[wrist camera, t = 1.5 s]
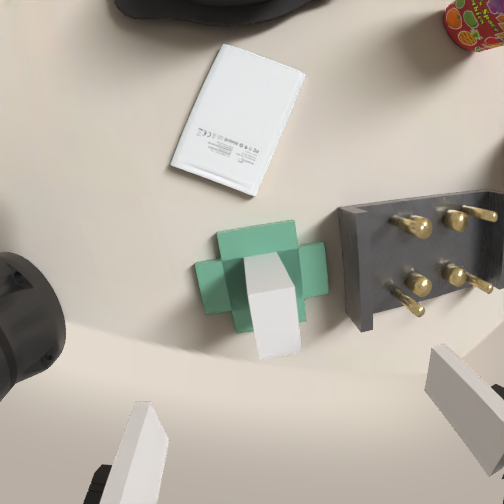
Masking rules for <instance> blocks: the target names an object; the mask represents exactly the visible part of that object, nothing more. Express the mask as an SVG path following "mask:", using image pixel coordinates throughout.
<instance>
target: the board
mask: <svg viewBox="0 0 504 504" xmlns="http://www.w3.org/2000/svg"><path fill="white" fill-rule="evenodd" d="M217 238H218V244H219V249H220V254H221V258H218V259H212V260H206V261H200V262H196V264H195V269H196V273H197V278H198V282H199V287H200V291H201V296H202V300H203V305H204V309H205V313H206V315H208V314H215V313H221V312H228V311H232V316H233V321H234V325H235V330H236V333H242V332H249V331H254V334H255V339H256V345H257V350H258V356H259V360H261V359H267V358H273V357H279V356H285V355H290V354H295V353H300V352H302V349H301V339H300V330H299V323H300V322H305V321H306V313H305V303H304V298H309V297H315V296H320V295H325V294H329V289H328V276H327V265H326V254H325V244H324V243H323V242H322V241H321V242H315V243H309V244H303V245H298V242H297V235H296V227H295V221H294V220H287V221H280V222H274V223H268V224H261V225H255V226H249V227H243V228H237V229H231V230H225V231H219V232H217Z"/></svg>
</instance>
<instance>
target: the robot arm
mask: <svg viewBox="0 0 504 504" xmlns="http://www.w3.org/2000/svg"><path fill="white" fill-rule="evenodd" d="M65 339H66V328H65V320H64V315H63V312H62V309H61V306H60V303H59V301H58V298H57V296H56V294H55V292H54V290H53V289H52V287H51V285H50V284H49V282H48V281H47V279H46V278H45V277H44V275H43V274H42V273H41V272H40V271H39V270H38V269H37V268H36V267H35V266H34V265H33V264H32V263H31V262H29V261H28V260H27V259H25V258H23V257H22V256H19V255H17V254H14V253H10V252H1V253H0V402H1V400H2V399H3V398H4V397H5V395H6V394H7V393H8V392H9V391H10V389H11V388H12V387H13V386H14V385H15V384H16V383H18V382H20V381H22V380H24V379H27V378H29V377H32V376H34V375H36V374H38V373H41V372H43V371H45V370H46V369H48V368H49V367H50V366H51V365H52V364H53V363H54V361H55V360H56V359H57V358H58V357H59V355H60V354H61V352H62V350H63V348H64V344H65ZM425 392H426V393H427V394H428V396H429V397H430V398H431V399H432V401H433V402H434V403H435V405H436V406H437V407H438V408H439V410H440V411H441V412H442V414H443V415H444V416H445V418H446V419H447V420H448V421H449V423H450V424H451V425H452V427H453V428H454V429H455V431H456V432H457V433H458V435H459V436H460V437H461V439H462V440H463V441H464V443H465V444H466V446H467V447H468V448H469V450H470V451H471V452H472V454H473V455H474V456H475V458H476V459H477V460H478V462H479V463H480V465H481V466H482V468H483V469H484V470H485V472H486V473H487V475H488V476H489V477H490V476H491V475H493V474H494V473H496V472H497V471H499V470H500V469H502V468H503V466H504V388H503V387H501V386H499V385H497V384H495V385H493V386H491V387H490V386H489V385H488V384H487V383H486V382H485V381H484V380H483V379H482V378H481V377H479V375H478V374H477V373H476V372H475V371H473V370H472V369H471V368H470V367H469V366H468V365H467V364H466V363H465V362H464V361H463V360H462V359H461V358H460V357H459V356H458V355H456V354H455V353H454V352H453V351H452V350H451V349H450V348H449V347H448V346H447V345H446V344H445V343H443V344H440V345H437V346H434V347H432V348H431V355H430V362H429V368H428V374H427V381H426V385H425ZM168 444H169V439H168V437H167V435H166V433H165V431H164V429H163V427H162V425H161V423H160V420H159V418H158V416H157V414H156V412H155V410H154V408H153V405H152V403H151V401H149V402H135V405H134V407H133V410H132V413H131V415H130V418H129V421H128V423H127V426H126V429H125V431H124V434H123V437H122V440H121V442H120V445H119V448H118V451H117V454H116V457H115V459H114V462H113V465H101V467H99V468H98V470H97V471H96V472H95V473H94V476H93V479H92V481H91V484H90V486H89V489H88V490H89V491H88V492H87V495H86V497H85V500H84V503H83V504H157V501H158V496H159V490H160V485H161V480H162V474H163V469H164V464H165V459H166V454H167V449H168ZM502 479H504V475H503V477H502ZM503 504H504V500H503Z"/></svg>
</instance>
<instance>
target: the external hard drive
mask: <svg viewBox="0 0 504 504" xmlns="http://www.w3.org/2000/svg"><path fill="white" fill-rule="evenodd" d="M305 77H306V74H304V73H303V72H300V71H298V70H296V69H293V68H291V67H289V66H286V65H284V64H281V63H279V62H276V61H273V60H271V59H268V58H266V57H263V56H260V55H258V54H255V53H252V52H249V51H246V50H243V49H240V48H237V47H234V46H230V45H227V44H223V45H222V47H221V49H220V51H219V53H218V55H217V57H216V59H215V61H214V63H213V65H212V67H211V69H210V71H209V73H208V75H207V78H206V80H205V82H204V84H203V86H202V88H201V91H200V93H199V95H198V97H197V100H196V102H195V104H194V106H193V109H192V111H191V113H190V116H189V118H188V120H187V123H186V125H185V128H184V130H183V133H182V135H181V138H180V140H179V143H178V145H177V148H176V150H175V153H174V156H173V158H172V161H171V163H170V165H171V166H173V167H176V168H179V169H182V170H185V171H188V172H190V173H193V174H196V175H199V176H201V177H204V178H207V179H210V180H212V181H215V182H217V183H220V184H223V185H225V186H228V187H231V188H233V189H236V190H238V191H241V192H244V193H246V194H249V195H251V196H254V197H256V194H257V192H258V190H259V187H260V185H261V182H262V180H263V177H264V175H265V173H266V170H267V168H268V165H269V163H270V161H271V158H272V156H273V153H274V151H275V149H276V146H277V144H278V141H279V139H280V137H281V134H282V132H283V129H284V127H285V124H286V122H287V120H288V117H289V115H290V113H291V110H292V108H293V106H294V103H295V101H296V98H297V96H298V93H299V91H300V89H301V86H302V84H303V82H304V79H305Z"/></svg>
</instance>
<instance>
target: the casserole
mask: <svg viewBox="0 0 504 504" xmlns="http://www.w3.org/2000/svg"><path fill="white" fill-rule="evenodd" d="M312 1H315V0H114V2H115V4H116V6H117V8H118V9H119V10H120V11H121V12H122V13H123V14H124V15H126V16H129V17H131V18H134V19H159V18H173V19H179V20H184V21H190V22H195V23H200V24H205V25H217V26H237V25H250V24H255V23H261V22H266V21H270V20H273V19H276V18H279V17H282V16H285V15H287V14H289V13H291V12H292V11H294V10H296V9H298V8H300V7H302V6H304V5H306V4H308V3H310V2H312Z"/></svg>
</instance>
